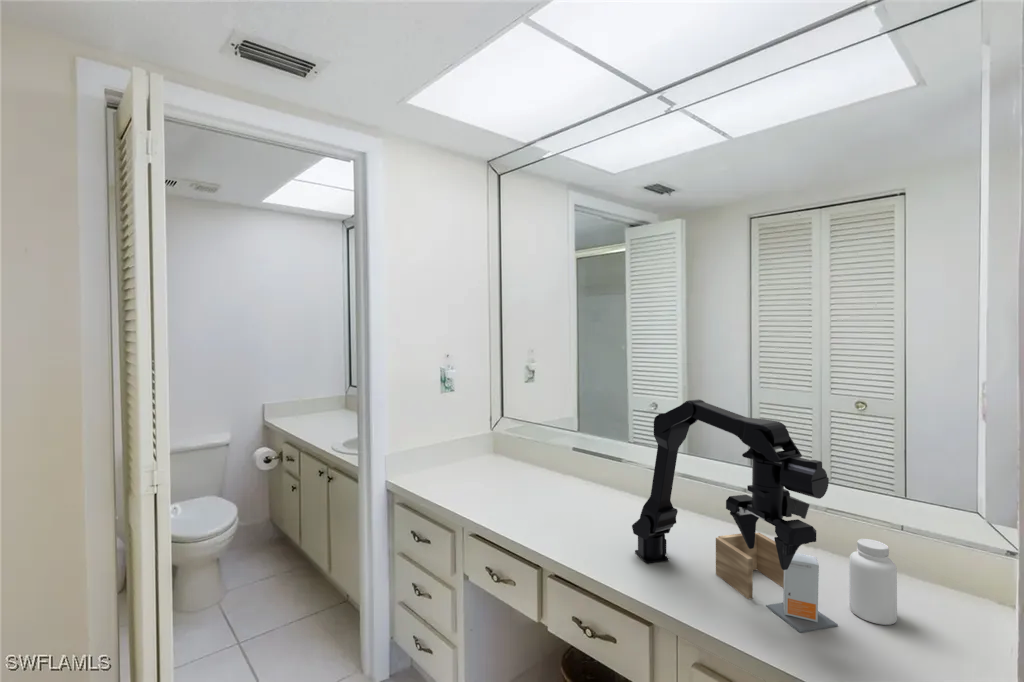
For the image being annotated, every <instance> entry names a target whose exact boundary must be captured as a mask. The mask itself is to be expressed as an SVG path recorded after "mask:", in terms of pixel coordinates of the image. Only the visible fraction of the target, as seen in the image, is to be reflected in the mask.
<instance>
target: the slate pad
mask: <svg viewBox="0 0 1024 682" xmlns="http://www.w3.org/2000/svg"><path fill="white" fill-rule="evenodd" d="M765 607H766V608H767V609H768V610H770V612H773V613H774V614H775V615H776V616H778V617H779V618H780V619H781V620H783V621H784V622H786V623H787V624H788V625H790V626H791V627H792V628H793V629H795V630H796V631H798V632H799V633H806V632H812V631H817V630H823V629H828V628H834V627H838V623H837V622H835V621H834V620H832V619H831V618H829V617H828V616H826V614H823V613H822V612H821V611H819V610H818V622H813V621H810V620H805V619H801V618H797V617H793V616H789V615H785V613H784V605H783V602H777V603H771V604H766V606H765Z"/></svg>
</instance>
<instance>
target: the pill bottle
mask: <svg viewBox="0 0 1024 682" xmlns="http://www.w3.org/2000/svg"><path fill="white" fill-rule="evenodd" d="M889 555H890V547H889V546H888V545H887V544H885V543H884V542H882V541H879V540H875V539H872V538H871V539H870V538H860V539H858V540H857V541H856V551H853V552H851V554H850V555H849V557H848V559H849V562H848V563H849V566H848V567H849V571H848V572H849V573H848V574H849V586H848V587H849V592H848V593H849V608H850V610H851V612H852V613H853V614H854V615H855V616H856V617H858V618H860V619H862V620H864V621H866V622H870V623H873V624H877V625H884V626H890V625H893V624H895V623H896V622H897V620H898V570H897V566H896V564H895V562H894V561H893V559H891V558H890V556H889Z"/></svg>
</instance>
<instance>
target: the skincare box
mask: <svg viewBox="0 0 1024 682" xmlns="http://www.w3.org/2000/svg"><path fill="white" fill-rule="evenodd" d="M819 571H820V565H819V561H818V557H817V556H813V555H809V554H808V555H807V554H804V553H798V552H796V553H795V555H794V557H793V559H792V561H791V563H790V565H789V567H788V569H787V570H784V588H783V595H782V596H783V598H782V599H783V600H782V601H783V605H784V613H785V615H789V616H793V617H797V618H801V619H805V620H810V621H813V622H818V611H819V579H820V578H819V575H820V574H819V573H820V572H819Z"/></svg>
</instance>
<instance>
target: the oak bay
mask: <svg viewBox="0 0 1024 682" xmlns="http://www.w3.org/2000/svg"><path fill="white" fill-rule="evenodd" d="M754 571H758V572H759V573H761V574H762V575H764V576H765V577H766V578H768V579H770V580H772V581H773V582H774V583H775V584H778V585H779V586H780V587H781V588H783V589H784V570H783V569H782V568H781V565H780V562H779V557H778V553H777V548H776V544H775V540H773V539H772V538H770V537H767V536H766V535H765V534H762V533H761V532H755V544H754V548H753V549H749V548H748V546H747V544H746V542H745V540H744V538H743V536H742V534H741V533H736V534H735V533H733V534H726V535H719V536H718V537H715V575H716V576H718V577H719V578H720V579H722V580H723V581H725V583H726V584H728V585H729V586H731V587H732V588H733V589H734V590H736V591H737V592H738V593H740V594H741V595H742V596H743V597H744V598H746V599H747V600H751V599H754V598H753V595H754V592H753V589H754V588H753V583H754V582H753V577H754V576H753V575H754Z"/></svg>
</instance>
